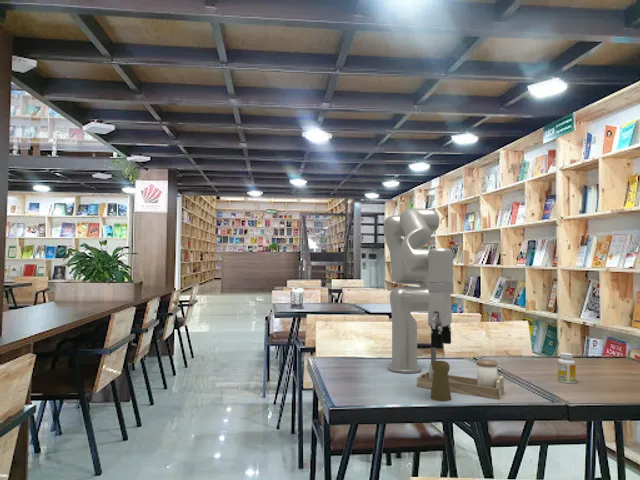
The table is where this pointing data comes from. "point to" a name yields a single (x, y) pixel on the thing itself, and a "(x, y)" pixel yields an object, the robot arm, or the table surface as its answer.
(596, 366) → the table surface
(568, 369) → the supplement bottle
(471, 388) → the wooden tray
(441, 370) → the olive brown waisted cylinder
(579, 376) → the table surface
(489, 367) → the jar
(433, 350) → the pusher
